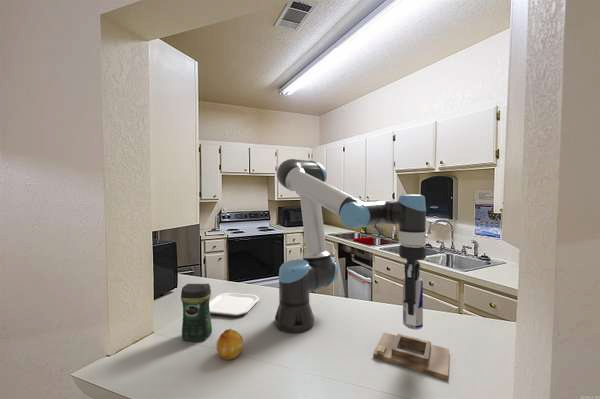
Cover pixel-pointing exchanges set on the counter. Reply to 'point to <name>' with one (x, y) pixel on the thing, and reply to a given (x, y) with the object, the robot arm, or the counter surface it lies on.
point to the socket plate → (414, 354)
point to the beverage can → (418, 305)
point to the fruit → (229, 344)
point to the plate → (232, 304)
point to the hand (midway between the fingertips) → (412, 320)
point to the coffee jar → (196, 312)
